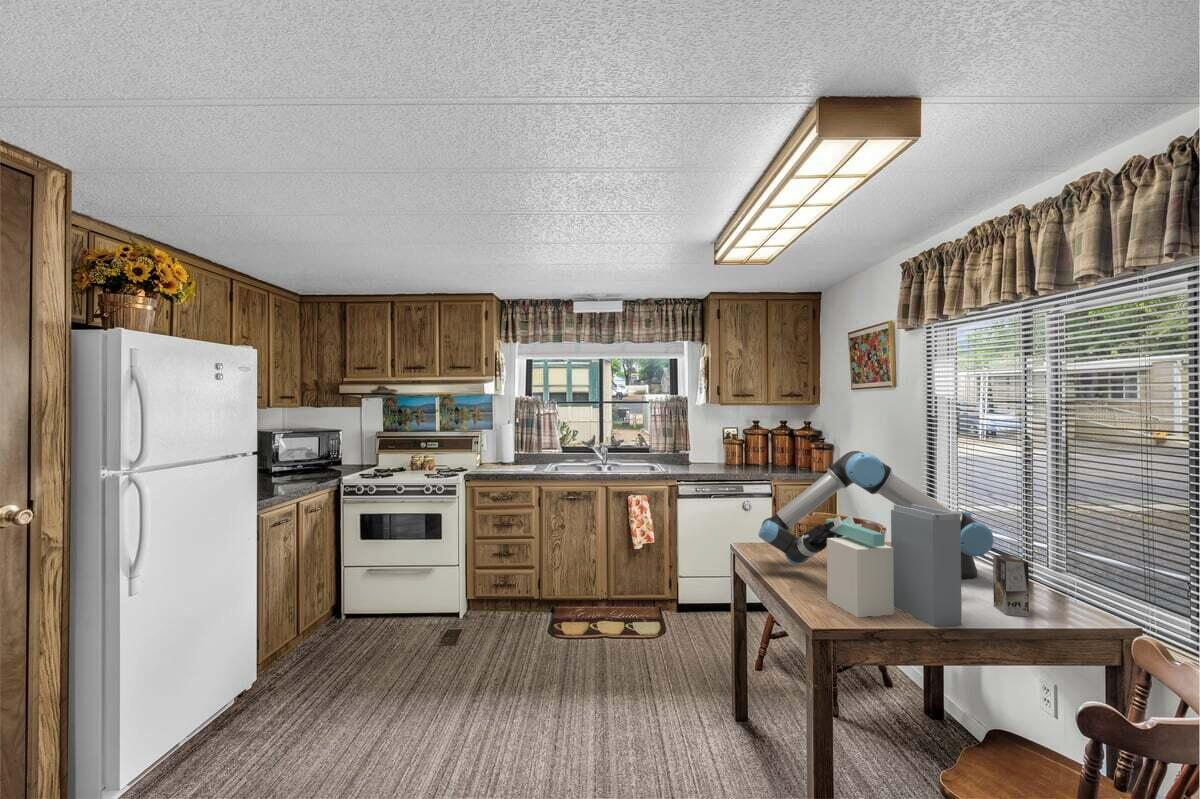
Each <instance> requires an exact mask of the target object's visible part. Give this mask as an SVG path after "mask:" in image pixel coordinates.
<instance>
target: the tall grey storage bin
mask: <svg viewBox="0 0 1200 799" xmlns="http://www.w3.org/2000/svg"><path fill="white" fill-rule="evenodd" d="M890 532H891V533H890V541H891V542H890V544H891V545H890V547H893V573H894V607H895V608H894V609H896V608H897V609H896V610H898V609H900V610H902V611H904V612H905V613H904V612H903V613H904V614H906V613H908V614H910V615H912V616H914V617H913V618H915V617H916V618H915V619H917V618H918V619H917V620H919V619H920V620H919V621H921V622H923V623H925V624H927V625H929V626H931V627H933V628H936V627H937V628H940V627H948V626H949V627H950V626H962V623H963V622H962V618H963V617H962V614H963V613H962V578H961V514H959V513H951V512H947V511H942V510H938V509H933V508H929V507H924V506H920V505H915V504H911V508H908V507H904V506H900V505H896V504H893V509H890ZM900 610H899V611H900ZM902 611H901V612H902ZM908 614H907V615H908ZM910 615H909V616H910ZM912 616H911V617H912Z"/></svg>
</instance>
